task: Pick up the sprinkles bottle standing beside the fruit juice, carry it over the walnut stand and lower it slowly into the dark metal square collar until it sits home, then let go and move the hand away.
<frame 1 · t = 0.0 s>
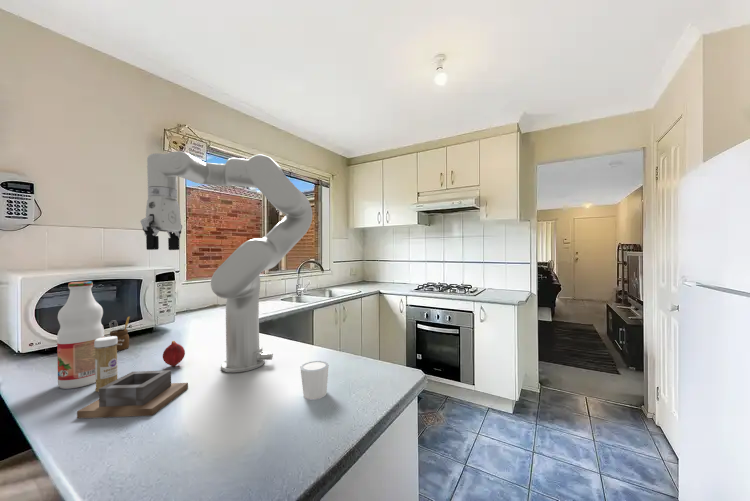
hand: (163, 249, 94), 37 cm above the worktop, tool pointing down, fingers open, 9 cm apart
white cup: (315, 394, 74), on the worktop
onion: (174, 366, 94), on the worktop
sprinkles bottle: (106, 389, 79), on the worktop
fruit juice: (82, 382, 84), on the worktop
socket stand: (137, 401, 72), on the worktop
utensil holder: (119, 349, 114), on the worktop
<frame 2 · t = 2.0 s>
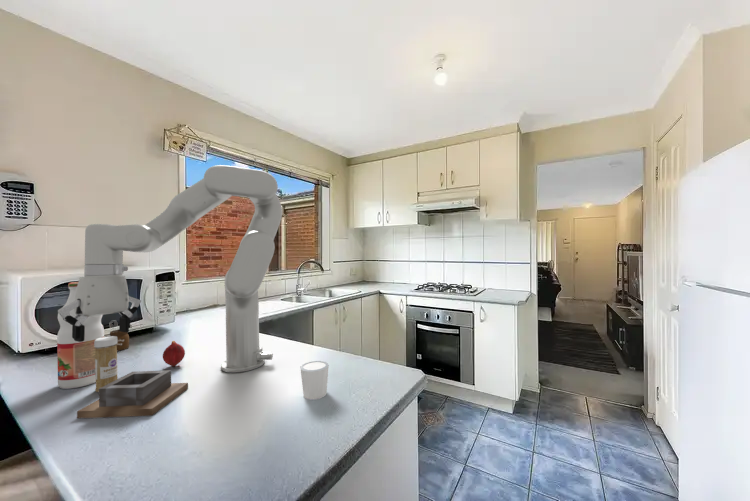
hand: (102, 336, 79), 14 cm above the worktop, tool pointing down, fingers open, 9 cm apart
nothing on the worktop moved.
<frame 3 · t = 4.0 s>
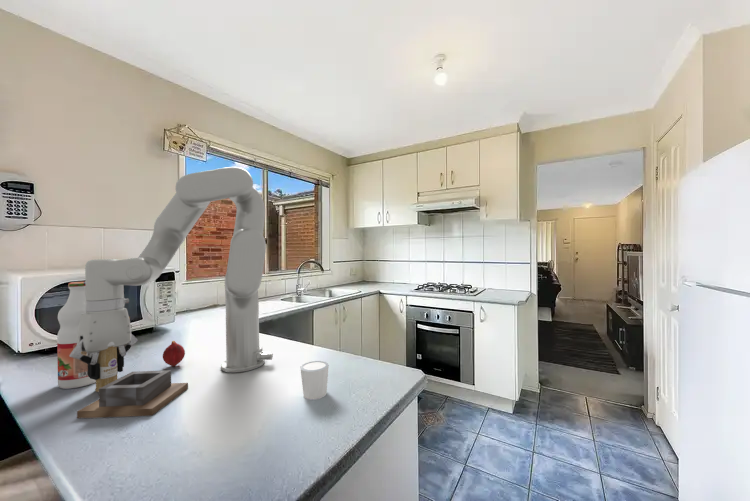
hand: (106, 374, 79), 4 cm above the worktop, tool pointing down, fingers closed on sprinkles bottle, 4 cm apart
sprinkles bottle: (106, 389, 79), on the worktop, touching gripper
everything else where it was.
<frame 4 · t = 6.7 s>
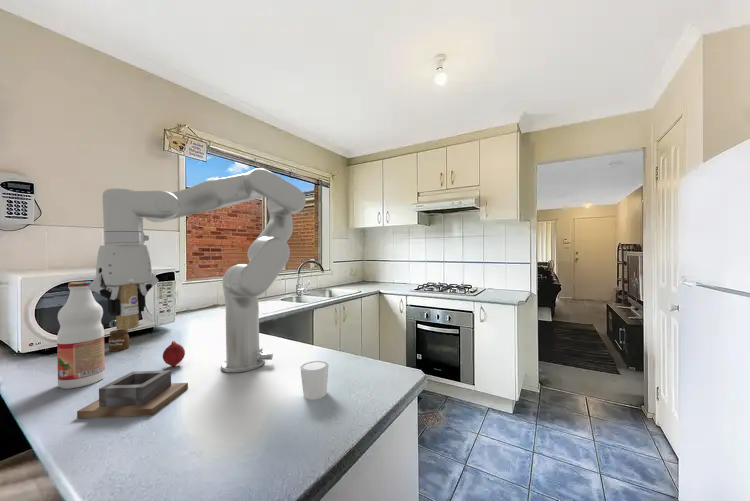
hand: (127, 312, 74), 21 cm above the worktop, tool pointing down, fingers closed on sprinkles bottle, 4 cm apart
sprinkles bottle: (128, 328, 74), point 17 cm above the worktop, touching gripper
everything else where it was.
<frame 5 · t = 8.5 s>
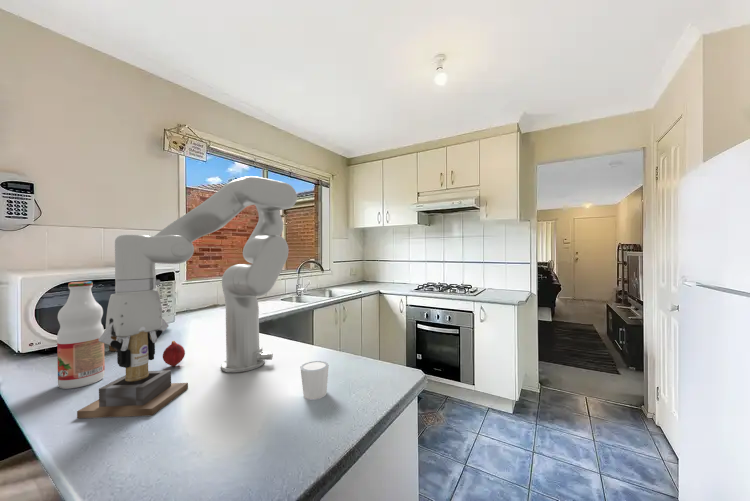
hand: (137, 362, 72), 10 cm above the worktop, tool pointing down, fingers closed on sprinkles bottle, 4 cm apart
sprinkles bottle: (137, 379, 72), point 5 cm above the worktop, touching gripper
everything else where it was.
when the fingers open (7 cm above the worktop, at t = 9.8 s): sprinkles bottle drops 1 cm, resting on socket stand.
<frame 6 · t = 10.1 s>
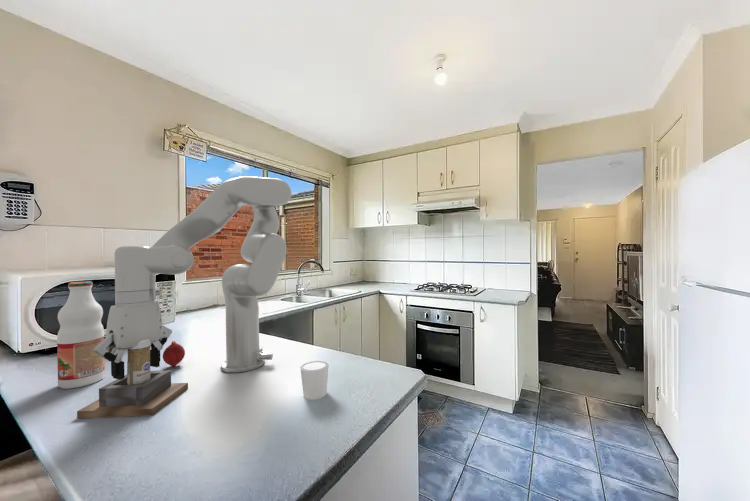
hand: (137, 371, 72), 7 cm above the worktop, tool pointing down, fingers open, 7 cm apart
sprinkles bottle: (138, 395, 72), point 1 cm above the worktop, touching socket stand
everything else where it was.
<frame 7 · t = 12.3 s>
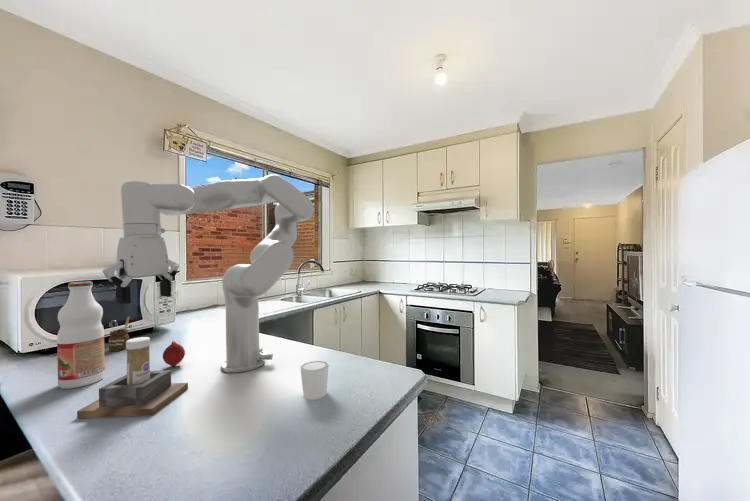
hand: (146, 299, 76), 24 cm above the worktop, tool pointing down, fingers open, 9 cm apart
nothing on the worktop moved.
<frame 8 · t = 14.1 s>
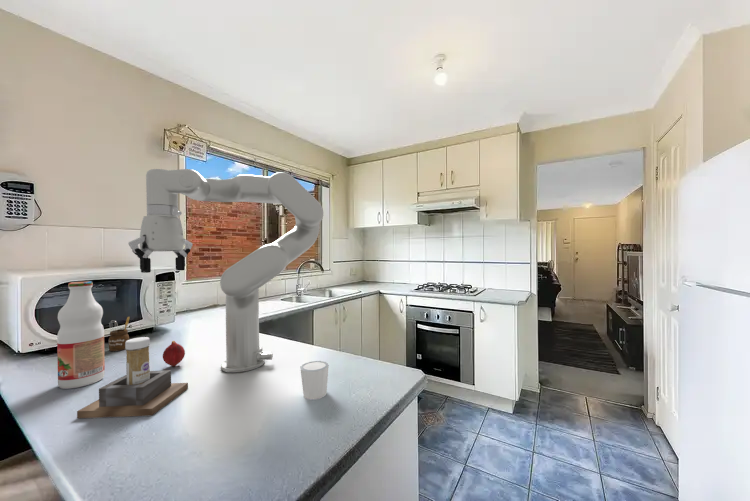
hand: (163, 271, 88), 30 cm above the worktop, tool pointing down, fingers open, 9 cm apart
nothing on the worktop moved.
at the end: sprinkles bottle 0.2 cm off-centre on the socket stand, point 1.3 cm above the socket stand's base; sprinkles bottle tilted 0°; the gripper is holding nothing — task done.
